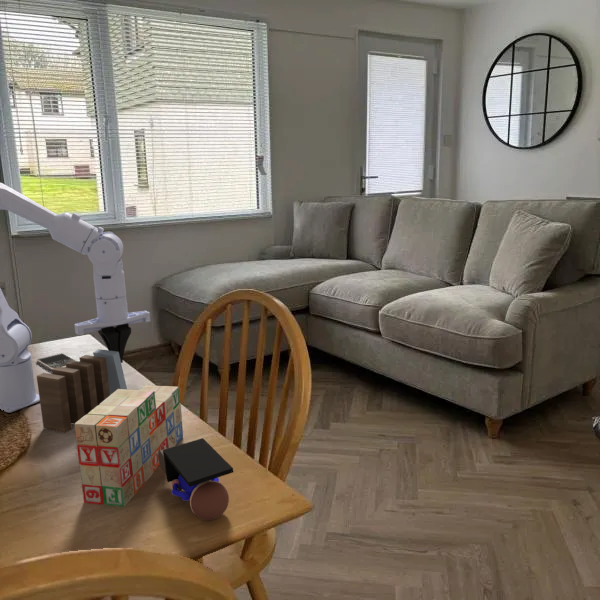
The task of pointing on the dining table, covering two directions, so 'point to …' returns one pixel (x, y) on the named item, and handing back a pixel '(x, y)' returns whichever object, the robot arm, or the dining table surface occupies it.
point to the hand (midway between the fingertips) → (117, 362)
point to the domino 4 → (99, 376)
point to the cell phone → (54, 361)
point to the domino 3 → (86, 383)
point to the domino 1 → (54, 402)
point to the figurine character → (197, 477)
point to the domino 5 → (113, 369)
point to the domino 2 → (72, 391)
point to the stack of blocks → (126, 441)
